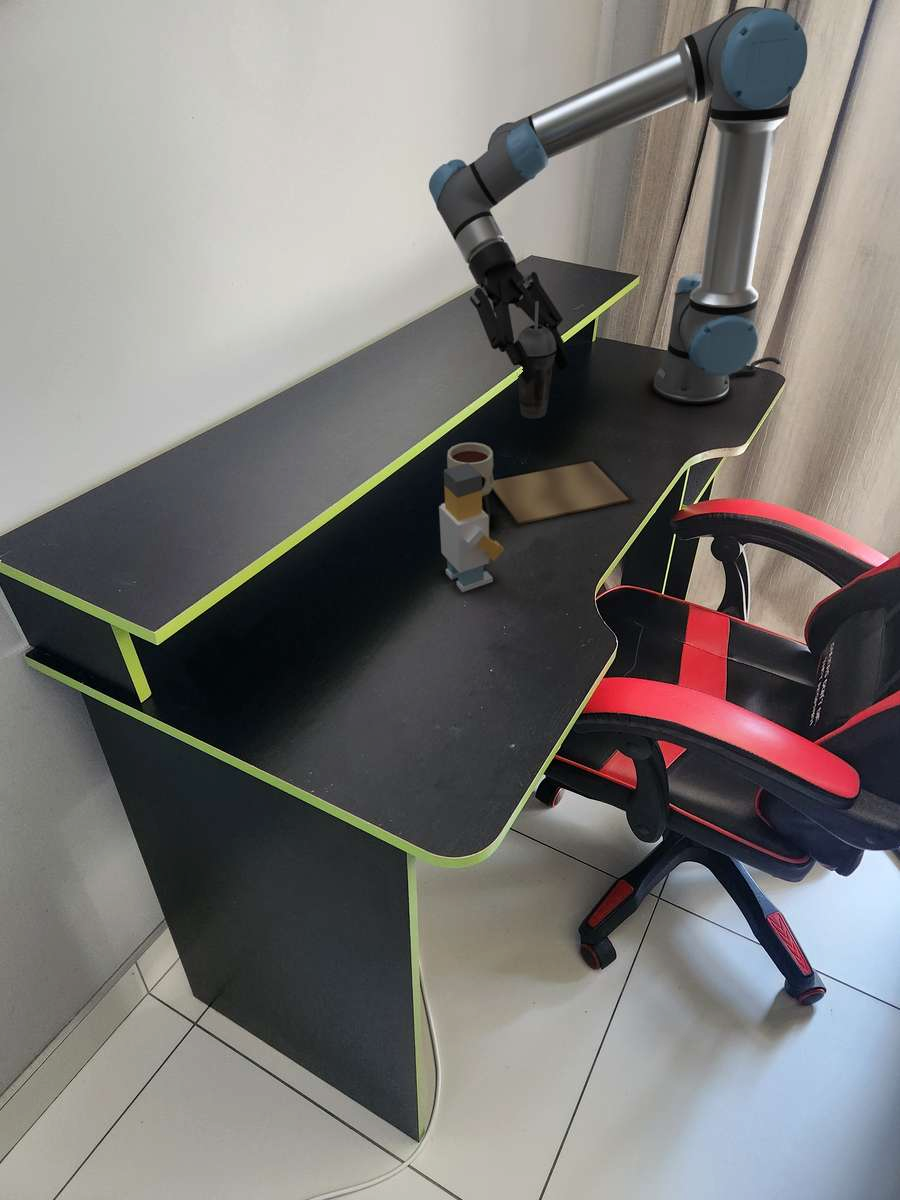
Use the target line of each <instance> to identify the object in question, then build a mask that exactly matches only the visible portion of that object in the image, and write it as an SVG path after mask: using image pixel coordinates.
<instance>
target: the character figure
mask: <svg viewBox="0 0 900 1200" xmlns="http://www.w3.org/2000/svg"><path fill="white" fill-rule="evenodd" d="M443 483H444V484H443V486H444V502H443V503H441V504H440V505H439V506H438V512H439V514H438V515H439V531H440V532H439V533H440V534H439V535H440V552H441V554H442V555H443V556H444V558H445V559H446V561H447V562H446V563H447V564H446V565H447V568H445V574H446V575H447V576H448V578H449V579H450V580H451V581H452V580H456V579H458V580H456V581H455V583H456V587H457V588H458V589H459V590H460V591H461V593H465V592H467V591H470V590H473V589H475V588H476V589H477V588H478V587H481V586H484V585H487V584H490V583H493V582H494V579H493V576H492V575H491V574H490V573H489V572H488V571H487V570H485V571H484V566H485V565H487V564H489V563H490V559H491V560H492V561H493V562H495V561H496V560H497V559H498V558H499V557H500V555H502V553H503V552H505V550H506V549H505V547H504V546H503V545H502V544H501V543H499V542H498V541H497V540H496V539H495V540H492V539H491V538H490V524H489V516H488V515H487V514H486V513H485V512H484V511H483V510H482V475H481V474H480V473H479V472H478V471H477V470H476V469H475V468H473V467H472V466H471V465H470V464H469V463H466V464H463V465H459V466H456V467H452V468H449V469H448V468H445V469H443Z"/></svg>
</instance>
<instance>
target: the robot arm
mask: <svg viewBox="0 0 900 1200" xmlns="http://www.w3.org/2000/svg"><path fill="white" fill-rule="evenodd" d="M807 60H808V42H807V38H806V34H805V32H804V29H803V28H802V26H801V25H800V23H799V22H798V21H797V20H796V19H795V18H794V17H793V16H792V15H790V14H789V13H788V12H786V11H785V10H781V9H779V8H777V7H776V8H775V7H773V8H772V7H760V6H745V7H741V8H738V9H735V10H733V11H730V12H729V13H727V14H726V15H723V16H722V17H720V18H719V19H717V20H715V21H714V22H712V23H710V24H708V25H706V26H703V28H700V29H698V30H697V31H694V32H693V33H691V34H688V35H687V36H684V37H682V38H680V39H679V41H678V43H677V45H676V47H675V49H673V50H671V51H667V52H666V53H664V54H662V55H660V56H658V57H657V56H656V57H654V58H653V59H651V60H648V61H646V62H644V63H642V64H640V65H637V66H635V67H633V68H631V69H629V70H627V71H624V72H622V73H619V74H617V75H616V76H615V75H614V76H613V77H611V78H609V79H606V80H605V81H602V82H600V83H598V84H596V85H592V86H591V87H589V88H587V89H584V90H582V91H580V92H578V93H576V94H573V95H571V96H569V97H567V98H565V99H563V100H559V101H558V102H555V103H554V104H551V105H549V106H546V107H545V108H542V109H540V110H538V111H535V112H533V113H531V114H530V115H528V116H525V117H523V118H520V119H518V120H516V121H514V122H513V121H512V122H511V121H510V122H504V123H502V124H500V125H499V126H497V127H496V129H494V131H493V132H492V133H491V135H490V137H489V140H488V144H487V151H485V152H484V153H482V155H480V156H479V157H478V158H476V159H475V160H474V161H472V162H471V163H469V164H467V163H466V162H465V161H464V160H462V159H451V160H449V161H448V162H447V163H443V164H442V165H440V166H438V168H436V169H435V171H434V172H433V173H432V174H431V176H430V178H429V181H428V191H429V192H430V195H431V197H432V199H433V201H434V203H435V207H436V210H437V211H438V213H439V215H440V216H441V218H442V220H443V222H444V223H445V226H446V227H447V229H448V231H449V233H450V234H451V237H452V238H453V240H454V242H455V244H456V246H457V248H458V250H459V252H460V254H461V256H462V258H463V260H464V262H465V263H466V264H468V269H469V271H470V274H471V276H472V277H473V279H474V281H475V283H476V285H478V286H480V287H476V289H474V291H473V293H472V294H471V295H470V297H469V301H470V302H471V304H472V305H473V306H474V308H475V309H476V311H477V313H478V316H479V318H480V320H481V323H482V326H483V328H484V329H483V330H484V332H485V334H486V336H487V338H488V341H489V344H490V346H491V347H490V348H492V349H493V350H497V349H498V350H499V351H500V352H501V353H506V355H507V357H508V358H509V361H510V362H511V364H512V365H513V366H514V367H515V366H516V365H518V364H519V365H521V366H522V367H523V369H522V370H523V372H522V373H521V375H522V377H523V379H524V381H525V383H526V384H527V383H529V382H531V381H532V380H533V379H534V378H535V377H536V376H537V374H536V372H535V370H534V368H533V366H532V364H531V362H530V360H529V358H528V356H527V354H526V353H525V351H524V349H523V347H522V345H521V343H520V341H515V336H514V330H513V325H512V319H511V313H510V308H509V307H510V306H509V305H514V306H515V307H516V308H517V309H521V310H522V311H523V312H524V313H525V315H526V316H527V317H528V318H529V319H530V320H531V321H532V322H533V323H534V324H535V302H536V301H538V325H541V326H544V327H546V328H547V329H548V330H550V331H551V333H552V334H553V336H554V339H555V342H556V348H557V352H556V355H555V359H554V363H555V364H556V366H557V368H558V370H559V371H560V372H561V371H564V370H565V369H566V368H567V367H568V366H569V365H570V364H571V363H572V360H571V358H570V357H569V354H568V352H567V350H566V349H565V347H564V346H565V341H564V340H563V338H562V336H561V334H560V332H559V330H558V327H559V325H560V324H561V323H562V322H563V321H564V320H563V317H562V315H561V314H560V312H559V310H558V308H556V305H555V304H554V302H553V301H552V300H551V298H550V297H549V295H548V294H547V292H546V290H545V289H544V287H543V286H542V284H541V282H540V279H539V275H538V274H537V272H536V271H532V272H531V273H530V274H528V275H527V274H523V273H522V272H521V271H519V270H518V268H517V264H516V262H517V260H516V257H515V255H514V254H513V252H512V250H511V248H510V246H509V244H508V242H506V241H505V236H504V234H503V232H502V230H501V228H500V226H499V225H498V223H497V221H496V219H495V217H494V216H493V214H492V211H491V209H492V208H494V207H495V206H497V205H498V204H499V203H500V202H501V201H504V199H506V198H507V197H509V196H510V195H511V194H513V193H514V192H515V191H517V190H519V188H521V187H523V185H525V184H526V183H528V182H529V181H531V180H534V179H535V178H536V176H537V175H538V174H539V173H541V172H542V171H543V170H544V169H545V168H546V167H547V166H548V165H549V159H551V158H553V157H556V156H558V155H561V154H562V153H565V152H568V151H570V150H573V149H574V148H577V147H579V146H581V145H583V144H586V143H589V142H591V141H593V140H596V139H597V138H598V139H599V138H600V137H603V136H604V135H607V134H609V133H612V132H614V131H616V130H619V129H621V128H624V127H626V126H628V125H630V124H633V123H636V122H637V121H640V120H642V119H645V118H646V117H649V116H652V115H654V114H656V113H659V112H661V111H663V110H665V109H668V108H670V107H672V106H675V105H677V104H680V103H682V102H684V101H688V102H689V103H691V104H697V103H698V102H701V101H703V100H706V99H709V98H711V105H710V114H709V120H710V121H711V122H712V124H713V125H714V127H715V128H716V129H717V139H716V147H715V156H714V165H713V174H712V181H711V191H710V198H709V205H708V206H709V208H708V215H707V224H706V233H705V242H704V249H703V258H702V266H701V273H694V274H688V275H684V276H682V277H681V278H679V279H678V281H677V283H676V289H675V291H674V300H673V301H674V302H673V307H672V315H671V320H670V321H671V322H670V329H669V335H668V336H669V337H668V343H667V351H666V353H665V355H664V357H663V359H662V361H661V363H660V366H659V368H658V370H657V372H656V374H655V376H654V379H653V385H652V386H653V387H652V389H653V391H654V392H655V393H656V394H657V395H658V396H659V397H661V398H663V399H665V400H667V401H671V402H674V403H678V404H683V405H684V404H685V405H707V404H713V403H717V402H719V401H722V400H723V399H725V398H726V397H727V395H728V394H729V390H730V389H729V388H730V378H729V376H734V375H735V376H736V375H737V376H738V375H743V376H744V375H746V376H747V375H755V374H756V372H757V371H758V369H757V365H760V364H763V363H767V362H772V363H774V364H776V365H782V363H781V361H780V360H779V359H778V358H777V357H773V356H767V357H763V358H759V359H757V360H755V361H752V362H751V360H752V359H753V358H754V356H755V355H756V352H757V351H758V347H759V332H758V328H757V326H756V325H755V319H756V313H757V307H758V301H759V292H758V291H757V290H756V289H755V287H754V286H753V285H752V280H753V274H754V268H755V262H756V256H757V250H758V243H759V237H760V230H761V224H762V220H763V219H762V217H763V211H764V204H765V198H766V192H767V188H768V187H767V185H768V180H769V173H770V167H771V161H772V155H773V148H774V141H775V136H776V130H777V128H778V126H780V125H781V124H782V122H784V120H786V119H787V117H788V116H789V113H790V107H791V102H792V95H793V92H794V90H795V89H796V88H797V86H798V85H799V83H800V81H801V79H802V77H803V75H804V72H805V69H806V66H807V62H808V61H807ZM490 301H491V302H490ZM749 362H751V363H750V366H749V367H750V369H749V370H748V369H747V370H746V369H742V368H744V367H745V366H747V365H748V364H749Z"/></svg>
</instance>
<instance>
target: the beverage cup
mask: <svg viewBox="0 0 900 1200" xmlns="http://www.w3.org/2000/svg"><path fill="white" fill-rule="evenodd" d="M516 341H520V343H521V345H522V347H523V349H524V351H525V353H526V354H527V356H528V358H529V360H530V362H531V364H532V366H533V368H534V370H535V372H536V374H537V376H536V377H535V378H534V379H533V380H532V381H531V382H529V383H527V384H526V383H525V381H524V379H523V377H522V375H521V374H520V375H519V376H518V375H517V385H518V396H519V397H518V398H519V407H520V415H521V416H522V417H524V418H526V419H539V418H543V417H545V416H546V414H547V408H548V405H549V397H550V389H551V382H552V375H553V367H554V363H555V360H554V359H555V355H556V352H557V348H556V342H555V339H554V336H553V334H552V333H551V331H550V330H548V329H547V328H546V327H544V326H541V325H538V301H536V302H535V323H534V324H531V325H529V326H526V327H525V328H524V329H522V330H521V332H519V334H518V336H517V338H516ZM516 341H515V342H516Z"/></svg>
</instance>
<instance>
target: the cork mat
mask: <svg viewBox="0 0 900 1200" xmlns="http://www.w3.org/2000/svg"><path fill="white" fill-rule="evenodd" d="M493 481H494V482H493V487H492V489H491V490H492V491H493V492H494V493H495V495H496V496H497V498H498V499H499V500H500V502H501V503H502V505H503V506H504V507H505V508H506V510H507V511H508V513H509V514H510V516H511V518H513V520H514V521H515V522H516V524H517V526H518V525H523V524H529V523H533V522H538V521H543V520H547V519H552V518H556V517H562V516H566V515H571V514H576V513H580V512H585V511H590V510H595V509H599V508H604V507H609V506H613V505H618V504H624V503H627V502H629V500H630V499H629V497H628V496H626V494H625V493H624V492H623V491H622V490H620V488H618V486H617V485H616V484H615V482H613V481H612V479H610V478H609V477H608V476H607V475H606V474H605V473H604V472H603V471H602V470H601V469H600V468H599V467H598V466H597V465H596V463H595V462H593V461H592V460H591V461H585V462H581V463H575V464H570V465H565V466H560V467H555V468H550V469H544V470H540V471H535V472H530V473H525V474H520V475H514V476H510V477H505V478H499V479H493Z"/></svg>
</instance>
